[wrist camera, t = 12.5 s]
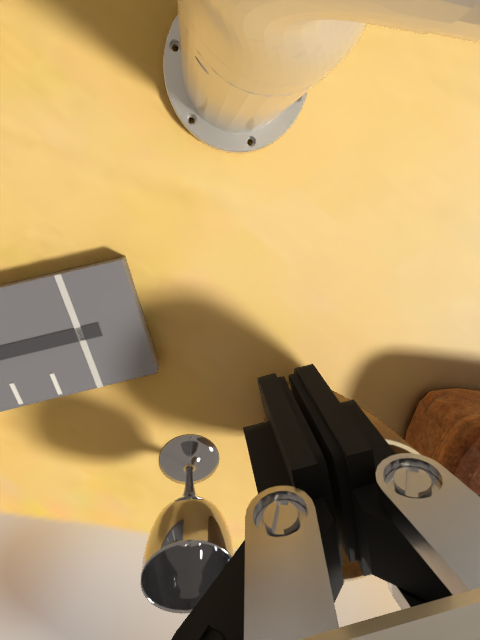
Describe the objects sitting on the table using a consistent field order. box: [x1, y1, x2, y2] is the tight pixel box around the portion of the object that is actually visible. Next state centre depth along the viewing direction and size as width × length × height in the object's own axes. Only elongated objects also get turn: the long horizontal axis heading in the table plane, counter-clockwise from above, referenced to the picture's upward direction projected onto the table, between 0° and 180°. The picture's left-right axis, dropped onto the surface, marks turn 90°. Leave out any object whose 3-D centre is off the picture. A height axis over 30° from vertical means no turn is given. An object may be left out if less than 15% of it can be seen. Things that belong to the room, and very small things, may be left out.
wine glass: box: [141, 435, 235, 613], centre depth 39 cm, size 8×8×15 cm
